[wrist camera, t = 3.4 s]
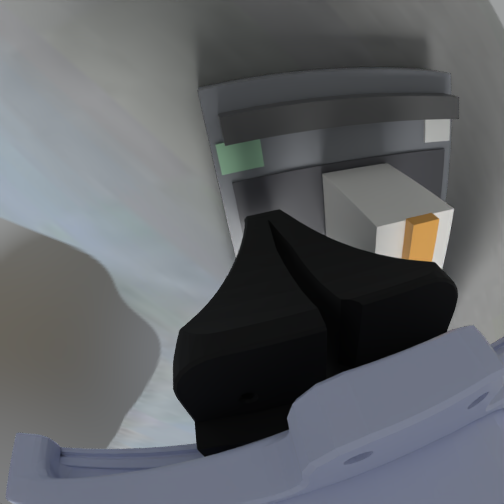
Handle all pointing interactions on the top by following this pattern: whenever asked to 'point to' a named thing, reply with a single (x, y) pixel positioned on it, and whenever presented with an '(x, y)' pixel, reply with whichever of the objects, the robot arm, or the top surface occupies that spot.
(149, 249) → the top surface
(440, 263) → the breaker lever
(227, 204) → the breaker panel
